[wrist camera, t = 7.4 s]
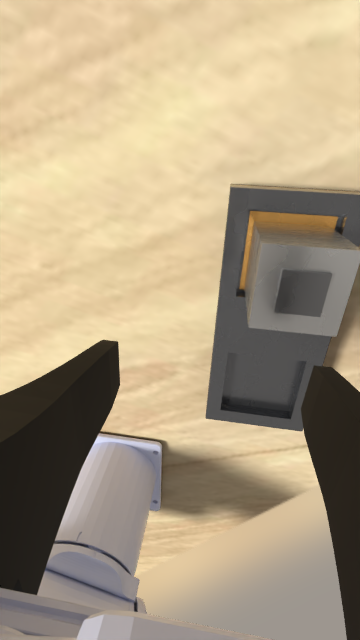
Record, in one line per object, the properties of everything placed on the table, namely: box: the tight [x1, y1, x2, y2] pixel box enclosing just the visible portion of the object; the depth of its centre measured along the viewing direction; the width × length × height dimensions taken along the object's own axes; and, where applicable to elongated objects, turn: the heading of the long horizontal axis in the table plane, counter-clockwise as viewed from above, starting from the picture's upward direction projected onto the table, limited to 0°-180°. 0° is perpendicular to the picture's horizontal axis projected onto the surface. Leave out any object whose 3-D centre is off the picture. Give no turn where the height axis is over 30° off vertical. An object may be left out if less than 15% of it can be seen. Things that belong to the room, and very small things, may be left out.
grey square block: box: [244, 221, 360, 337], centre depth 16 cm, size 4×4×5 cm
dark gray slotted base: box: [206, 184, 360, 431], centre depth 20 cm, size 16×7×2 cm, turn 177°
